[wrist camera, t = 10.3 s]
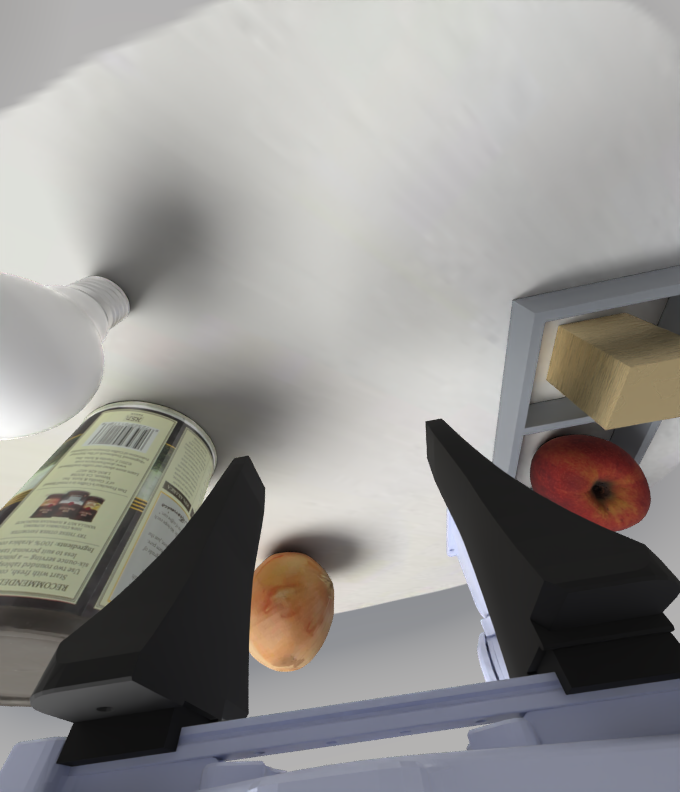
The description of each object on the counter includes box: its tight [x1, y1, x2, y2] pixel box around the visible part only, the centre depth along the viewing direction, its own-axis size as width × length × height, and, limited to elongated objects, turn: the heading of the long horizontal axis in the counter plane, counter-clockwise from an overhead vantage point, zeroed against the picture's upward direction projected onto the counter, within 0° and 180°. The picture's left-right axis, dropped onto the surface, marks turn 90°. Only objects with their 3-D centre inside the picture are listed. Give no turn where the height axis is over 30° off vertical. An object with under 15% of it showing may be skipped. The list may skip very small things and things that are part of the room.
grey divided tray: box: [492, 265, 680, 491], centre depth 25 cm, size 21×11×2 cm, turn 11°
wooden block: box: [546, 313, 680, 430], centre depth 20 cm, size 4×4×6 cm
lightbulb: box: [0, 272, 130, 440], centre depth 14 cm, size 6×6×11 cm
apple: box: [530, 435, 651, 532], centre depth 25 cm, size 7×8×8 cm
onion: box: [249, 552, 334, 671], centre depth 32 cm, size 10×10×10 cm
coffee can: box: [0, 401, 217, 707], centre depth 20 cm, size 10×10×14 cm
